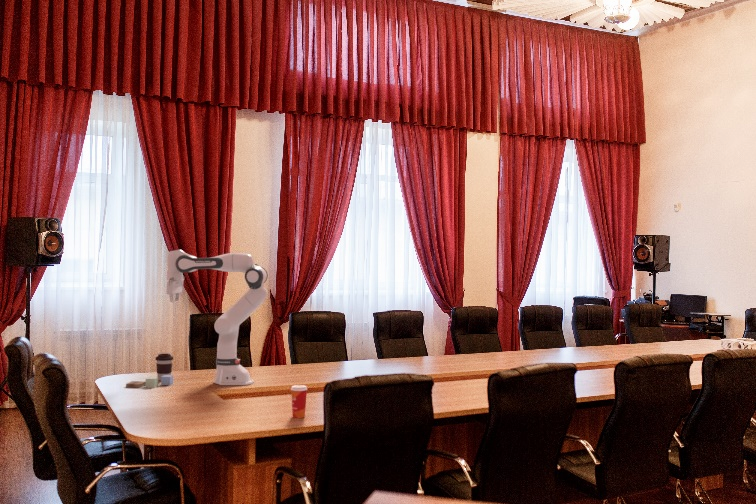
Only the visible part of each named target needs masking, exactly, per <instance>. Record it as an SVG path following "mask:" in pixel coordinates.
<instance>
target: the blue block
mask: <svg viewBox="0 0 756 504" xmlns="http://www.w3.org/2000/svg"><path fill="white" fill-rule="evenodd" d="M173 384H174V375H172V374H171V375H164V376H162V377H161V381H160V385H161V386H162V385H168V386H169V387H170V386H172V385H173ZM168 386H167V387H168Z"/></svg>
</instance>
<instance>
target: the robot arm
mask: <svg viewBox="0 0 756 504" xmlns="http://www.w3.org/2000/svg"><path fill="white" fill-rule="evenodd" d="M166 261H167V262H166V263H167V271H166V281H167V282H166V294H167V295H169V302H170V303H174V302H179V300H180V295H181V293H183V290H184V280H185V276H184V275H183V274H186V273H192V272H196V271H198V270H206V269H207V270H216V271H219V272H226V273H227V272H228V273H244V280H245V282H246V284H247V286H248V288H249V289H248V290H247V291H246V292H245V293H244V294H243V295H242V296H241V297H239V299H238V300H237V301H236V302H235V303H234V304H233V305H231V307H229V308H227V310H226V311H225V312H223V313H222V314H221V315H220V316H219V317H218V318H217V319H216V321H215V322H214V330H215V332H216V333H217V334H218V341H217V346H216V351H217V352H216V358H215V368H216V372H215V377H214V381H213V384H217V385H220V386H246V385H247V386H248V385H251V384H253V383H254V382H255V381H254V379H253V378H251V377H250V372H249V370H248V369H247V368H246V367H244V366H243V365H242V364H241V358H238V357H237V355H238V354H237V352H238V349H237V347H238V338H239V332H240V331H239V330H240V325H242V323H243V322H245V321H246V320H247V319H248V318H249V317H250V316H251V315H253V313H254V312H255V311H256V310H257V309H258V308H259V307H261V306H262V304H263V303H264V302H265V300H267V297H268V296H269V292H268V289H267V288H266V287H265V286H264V283H266V282H267V280H268V271H267V270H266V268H264V267H262V266H261V265H259V264H257V263H255V261H254V258H253V256H252V255H251V254H250V253H243V252H230V253H224V254H220V255H216V256H212V257H197V256H195V255H192V254H189V253H186V252H185V251H184V250H182V249H173V250H170V251H169V252H168V254H167V259H166ZM174 296H175V297H174Z"/></svg>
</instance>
